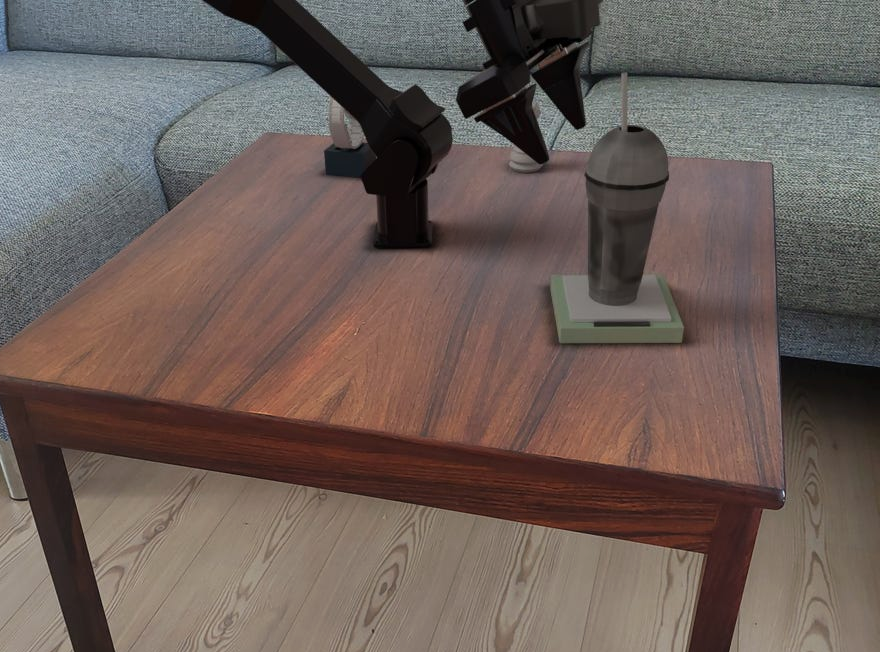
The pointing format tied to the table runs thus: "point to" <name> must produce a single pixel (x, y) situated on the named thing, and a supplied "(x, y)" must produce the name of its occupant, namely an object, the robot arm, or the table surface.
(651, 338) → the scale
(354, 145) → the watch
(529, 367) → the table surface
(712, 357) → the table surface
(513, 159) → the rook chess piece
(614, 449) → the table surface
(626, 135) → the beverage cup
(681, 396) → the table surface
